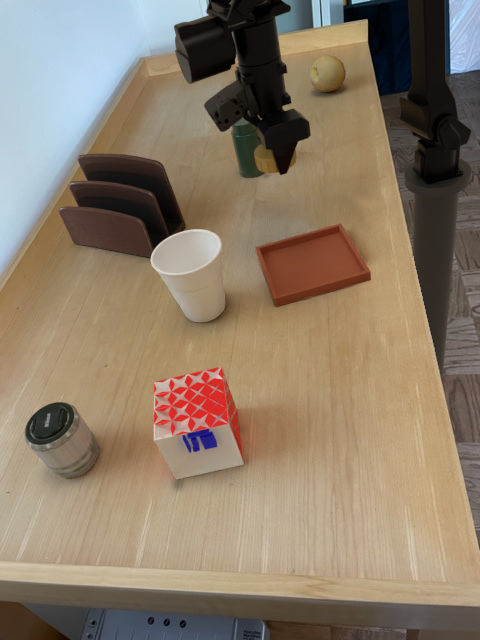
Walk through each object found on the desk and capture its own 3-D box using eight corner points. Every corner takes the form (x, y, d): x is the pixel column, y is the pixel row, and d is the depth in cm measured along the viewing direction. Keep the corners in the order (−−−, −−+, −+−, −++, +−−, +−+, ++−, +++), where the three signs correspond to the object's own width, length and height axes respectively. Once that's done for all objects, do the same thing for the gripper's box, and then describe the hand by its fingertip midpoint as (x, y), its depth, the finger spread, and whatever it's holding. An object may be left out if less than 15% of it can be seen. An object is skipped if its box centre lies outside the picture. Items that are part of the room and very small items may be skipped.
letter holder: (105, 214, 106) (76, 148, 96) (187, 226, 97) (163, 155, 87) (73, 244, 100) (38, 177, 91) (156, 260, 91) (127, 188, 81)
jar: (264, 160, 108) (254, 109, 101) (270, 172, 104) (260, 120, 97) (237, 167, 108) (226, 117, 101) (242, 180, 104) (231, 129, 97)
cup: (162, 328, 78) (137, 270, 71) (190, 284, 84) (170, 226, 77) (222, 338, 74) (203, 278, 67) (248, 290, 80) (233, 230, 73)
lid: (249, 170, 81) (246, 156, 80) (270, 150, 84) (268, 137, 83) (282, 175, 78) (280, 161, 76) (304, 155, 81) (302, 141, 79)
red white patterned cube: (236, 408, 65) (222, 366, 60) (244, 464, 59) (229, 423, 54) (173, 422, 65) (152, 382, 60) (175, 479, 60) (152, 440, 54)
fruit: (313, 87, 130) (309, 52, 124) (347, 82, 128) (345, 47, 122) (309, 100, 125) (305, 65, 119) (345, 96, 122) (343, 59, 117)
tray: (341, 231, 86) (341, 223, 85) (371, 280, 77) (370, 271, 75) (256, 255, 86) (255, 247, 85) (275, 307, 77) (273, 298, 76)
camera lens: (102, 430, 67) (76, 391, 62) (100, 473, 62) (72, 436, 57) (54, 442, 67) (24, 405, 62) (48, 487, 62) (16, 450, 57)
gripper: (188, 56, 77) (213, 155, 88) (216, 99, 63) (242, 210, 74) (261, 34, 78) (278, 135, 88) (304, 72, 64) (317, 186, 75)
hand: (277, 164), depth 81 cm, fingers closed on lid, 6 cm apart
